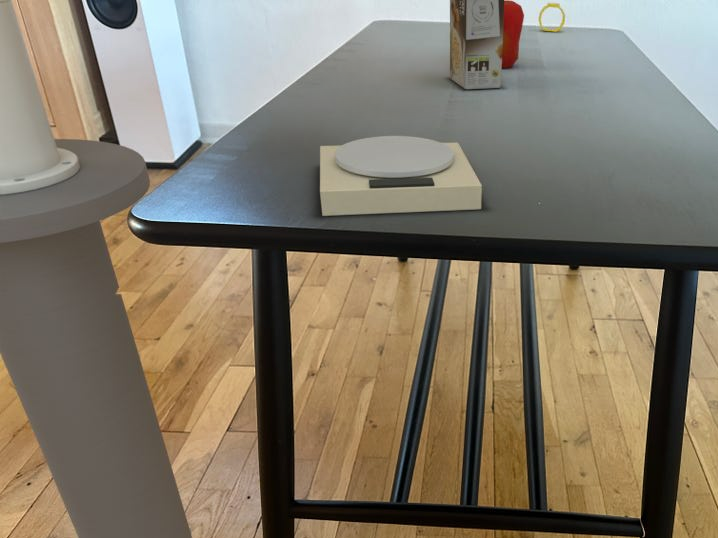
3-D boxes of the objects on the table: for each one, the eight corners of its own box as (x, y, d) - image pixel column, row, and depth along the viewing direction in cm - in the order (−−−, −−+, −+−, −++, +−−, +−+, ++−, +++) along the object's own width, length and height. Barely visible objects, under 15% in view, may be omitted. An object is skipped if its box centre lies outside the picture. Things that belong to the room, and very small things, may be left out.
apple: (498, 59, 130) (500, -11, 124) (531, 66, 126) (536, -6, 119) (465, 65, 125) (466, -9, 119) (498, 72, 120) (501, -4, 114)
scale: (322, 216, 64) (318, 181, 62) (322, 167, 75) (319, 137, 73) (481, 209, 66) (482, 175, 65) (457, 163, 78) (458, 134, 76)
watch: (538, 32, 161) (540, 3, 157) (537, 30, 163) (539, 2, 160) (564, 32, 161) (566, 4, 158) (562, 30, 163) (565, 2, 160)
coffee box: (502, 88, 110) (507, -27, 101) (464, 90, 108) (466, -27, 99) (483, 76, 117) (486, -32, 108) (447, 78, 116) (447, -32, 107)
